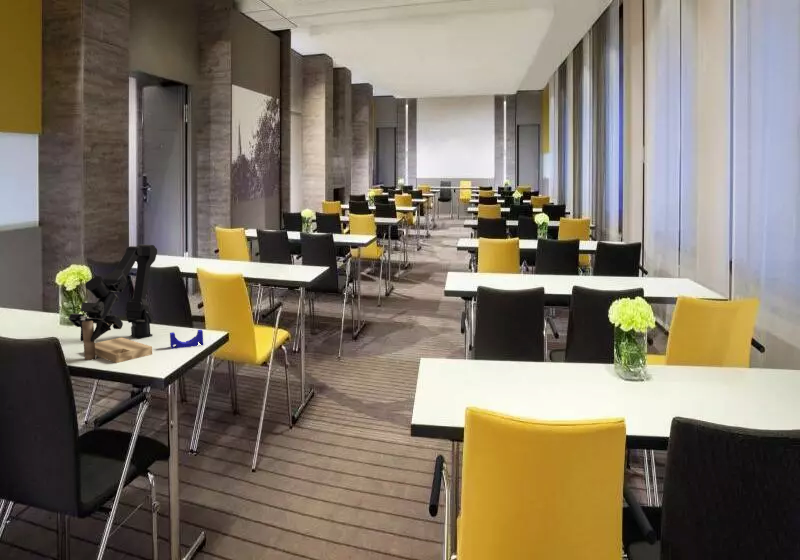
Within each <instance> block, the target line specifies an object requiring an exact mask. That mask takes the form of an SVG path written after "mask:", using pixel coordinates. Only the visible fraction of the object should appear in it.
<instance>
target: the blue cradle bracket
mask: <svg viewBox="0 0 800 560" xmlns="http://www.w3.org/2000/svg"><path fill="white" fill-rule="evenodd" d="M203 331H204V330H202V329H197V332H196V335H195V336H193V337H192V338H191V339H189V340H185V341H180V340H179V339H178V338H177V337H176V334H175V332H174V331H172V332H169V339H170V340H169V341H170V342H169V343H170V348H171V350H172V349H175V350H176V349H183V348H191V346H193V347H198V346H197V345H198V342H199V343H200V344H201V345H202V346H204V332H203Z"/></svg>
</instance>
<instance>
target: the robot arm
mask: <svg viewBox="0 0 800 560" xmlns="http://www.w3.org/2000/svg"><path fill="white" fill-rule="evenodd" d="M157 254H158V249H157V247H156V246H155V245H154V244H138V245H136V246H134V245H132V246H127V247H126V249H125V252H124V254H123V256H122V258H121V259H120V261H119V263H118V264H117V266H116V268H115V269H114V270H113V271H111V272H110V273H108V274H106V276H105V277H104V279H103V278H102V276H101V275H94V277H93V278H91V279H89V280H87V281H86V283H85V289H86V290H87V291H88V292H89V293H90V294H91V295H92V296H93V298H95V299H97V300H96V302H85V301H84V302H82V303H81V305H80V312H84V313H85V315H86V316H84V315H83V314H82V313H71V314H70V315H69V316H68V318H67V320H68V321H70V322H71V324H73V325H74V327H76V328H80V341H81V342H83V329H82V322H83V321H93V324H95V327H94V332H93V335H92V337H91V340H90V341H91V342H93V341H94V340H95V341H96V340H97V339H99V338H100V337H101V336H102V335H104V334H106V333H107V332H108V331H111V330H112V328H113V330H121V329H122V328H123V326H124V323H123V321H122V319H120V318H119V316H118V315H115V314H113V311H112V308H113V306H114V305H115V303H118V302H120V299H119V297H118V296H119V295H118V294H115V293H121V292H122V293H123V291H124V290H125V288H126V285H127V283H128V280H127V277H128V275H129V273H130V271H131V270H132V268H133V266H134V265H135V264H137V267H136V275H135V282H134V288H133V296H132V299H130V301H129V300H128V301H127V302H126V308H125V316H126V319H127V322H128V324H129V323H131V327H130V330H131V331H130V333H131V334H130V337H131V336H132V338H135V339H143V338H149V337H153V335H154V334H153V333H151V323H153V321H154V315H153V314H152V312H151V311H150V306H149V303H148V301H147V292H148V287H149V286H148V285H149V277H150V271H151V266H152V265H153V264H154V262H155V261H156V258H157ZM112 314H113V315H112ZM111 327H112V328H111Z"/></svg>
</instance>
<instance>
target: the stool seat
mask: <svg viewBox="0 0 800 560" xmlns="http://www.w3.org/2000/svg"><path fill="white" fill-rule="evenodd" d="M95 353H96V357H98V356H99V357H98V358H101V359H103V358H104V360H106V359H107V361H109V360H110V362H113V363H115V364H117V363H122V362H126V361H131V360H134V359H139V358H142V357H146V356H151V355H153V345H152V346H150V345H148V344H144V343H141V342H138V341H134V340H131V339H128V338H124V337H116V338H113V339H107V340H103V341H98V342H95Z"/></svg>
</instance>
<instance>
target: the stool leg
mask: <svg viewBox="0 0 800 560" xmlns="http://www.w3.org/2000/svg"><path fill="white" fill-rule="evenodd" d="M82 329H83V341H82V342H83V353H84V360H85V361H93V360H96V359H97V356H96V353H95V343H96V340H94V341H93V342H91V341H90V340H91V337H92V335H93V332H94V330H95V327H94V323H93V321H83V322H82ZM95 358H96V359H95ZM92 359H93V360H92Z"/></svg>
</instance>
